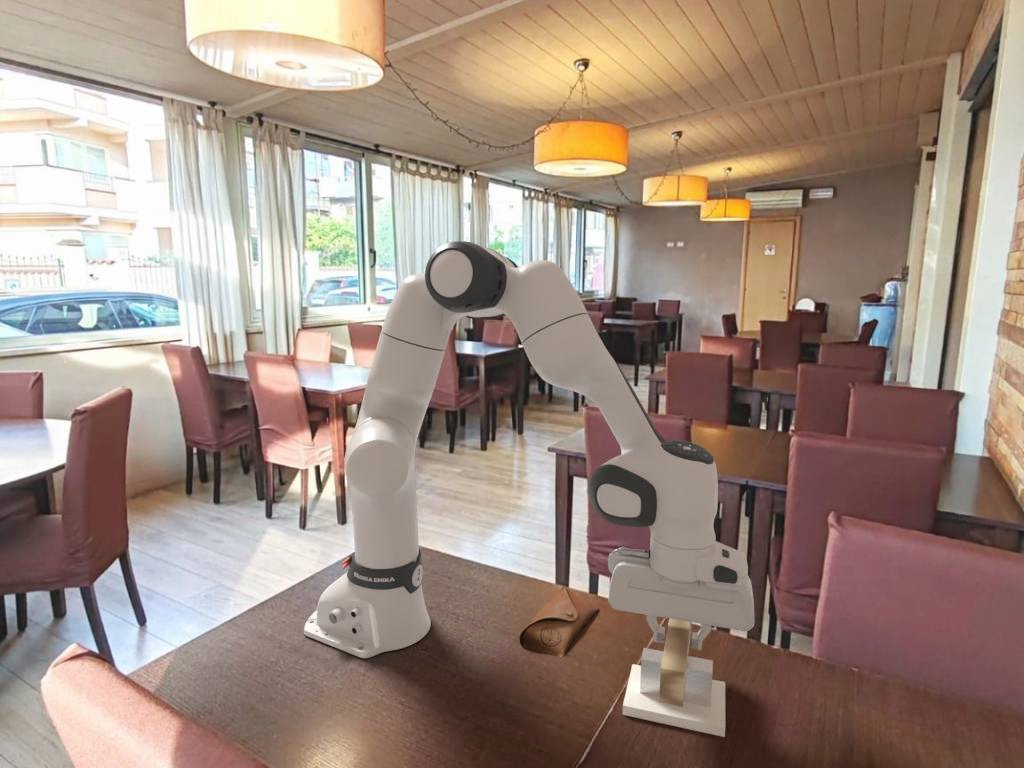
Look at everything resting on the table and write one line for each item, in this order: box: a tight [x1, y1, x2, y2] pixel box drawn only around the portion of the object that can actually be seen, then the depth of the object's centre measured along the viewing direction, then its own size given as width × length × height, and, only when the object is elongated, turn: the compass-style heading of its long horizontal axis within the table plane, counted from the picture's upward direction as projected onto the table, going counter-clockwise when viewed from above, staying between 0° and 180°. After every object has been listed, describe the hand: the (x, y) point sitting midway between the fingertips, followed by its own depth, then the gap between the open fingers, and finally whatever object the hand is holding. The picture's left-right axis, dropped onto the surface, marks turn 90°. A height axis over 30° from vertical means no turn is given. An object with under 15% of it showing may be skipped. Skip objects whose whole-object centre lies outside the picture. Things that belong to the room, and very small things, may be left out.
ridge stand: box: [622, 647, 726, 738], centre depth 91 cm, size 14×10×7 cm
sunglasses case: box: [519, 584, 600, 658], centre depth 112 cm, size 18×7×7 cm
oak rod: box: [659, 618, 693, 707], centre depth 90 cm, size 3×20×5 cm, turn 161°
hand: (677, 643), depth 90 cm, fingers open, 4 cm apart
